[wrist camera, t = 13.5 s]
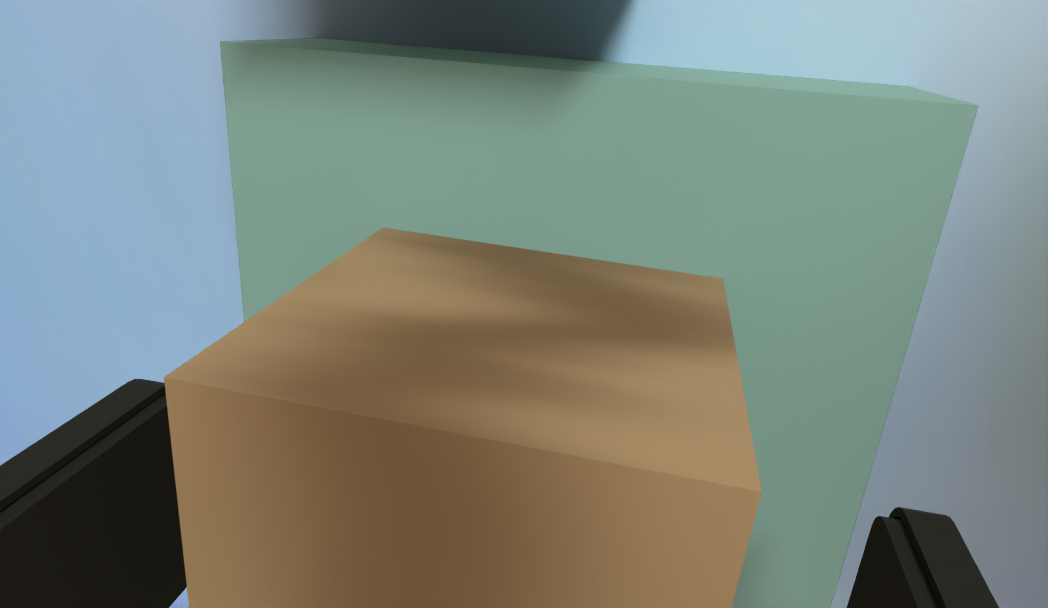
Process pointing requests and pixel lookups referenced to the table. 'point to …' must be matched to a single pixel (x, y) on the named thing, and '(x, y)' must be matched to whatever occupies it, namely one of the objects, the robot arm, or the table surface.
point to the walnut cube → (468, 437)
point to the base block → (634, 221)
